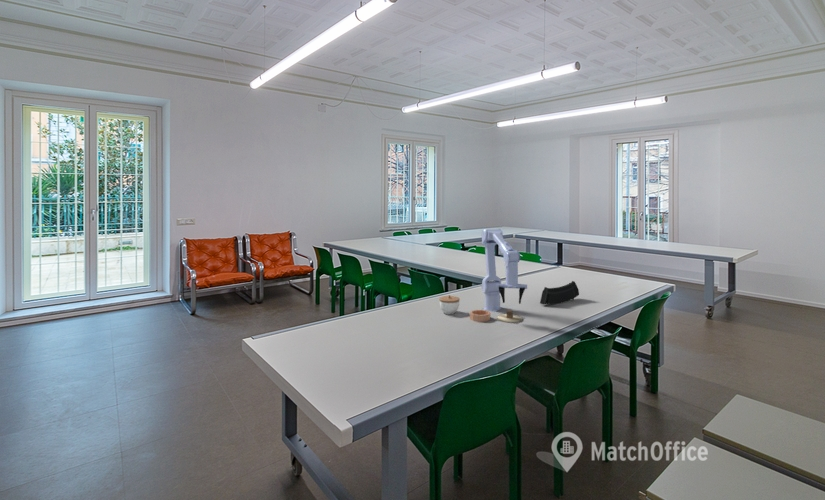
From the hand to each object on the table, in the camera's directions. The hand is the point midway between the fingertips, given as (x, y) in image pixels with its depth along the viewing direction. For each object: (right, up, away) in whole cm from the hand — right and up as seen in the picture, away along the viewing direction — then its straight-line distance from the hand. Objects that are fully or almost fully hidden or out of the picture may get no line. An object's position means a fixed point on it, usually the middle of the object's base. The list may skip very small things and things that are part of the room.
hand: (511, 302), depth 209 cm
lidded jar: (-29, -8, +19) cm, 36 cm away
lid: (0, -9, +6) cm, 10 cm away
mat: (0, -9, +6) cm, 11 cm away
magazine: (+37, -5, +39) cm, 54 cm away
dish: (-15, -9, +7) cm, 18 cm away
